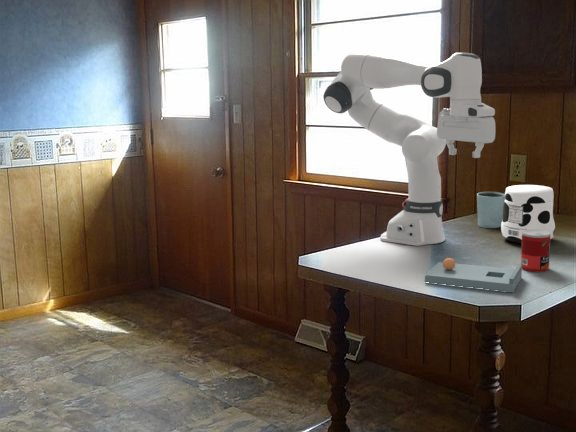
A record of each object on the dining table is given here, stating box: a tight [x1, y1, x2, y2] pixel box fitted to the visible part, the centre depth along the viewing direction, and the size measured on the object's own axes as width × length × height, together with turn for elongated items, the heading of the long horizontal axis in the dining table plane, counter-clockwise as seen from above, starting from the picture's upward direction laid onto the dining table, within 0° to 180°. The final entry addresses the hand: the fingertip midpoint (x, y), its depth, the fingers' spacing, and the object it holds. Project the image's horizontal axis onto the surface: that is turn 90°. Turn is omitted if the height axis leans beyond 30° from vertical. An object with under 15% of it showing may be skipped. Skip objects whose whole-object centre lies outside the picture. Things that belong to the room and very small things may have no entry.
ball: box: [442, 257, 456, 270], centre depth 198 cm, size 4×4×4 cm
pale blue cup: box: [476, 191, 505, 229], centre depth 257 cm, size 10×10×12 cm
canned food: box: [520, 230, 551, 273], centre depth 203 cm, size 8×8×11 cm
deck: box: [424, 261, 523, 293], centre depth 195 cm, size 24×14×4 cm, turn 63°
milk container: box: [500, 184, 556, 244], centre depth 233 cm, size 17×17×18 cm
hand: (464, 156), depth 204 cm, fingers open, 8 cm apart
